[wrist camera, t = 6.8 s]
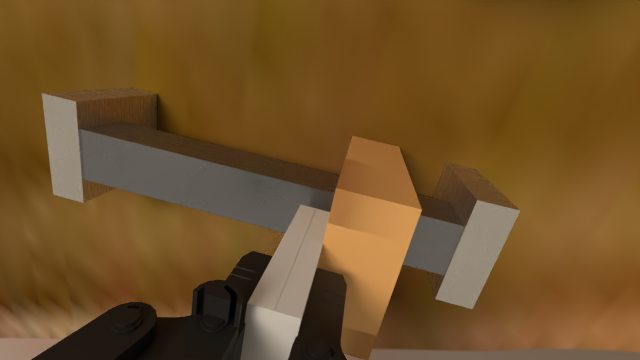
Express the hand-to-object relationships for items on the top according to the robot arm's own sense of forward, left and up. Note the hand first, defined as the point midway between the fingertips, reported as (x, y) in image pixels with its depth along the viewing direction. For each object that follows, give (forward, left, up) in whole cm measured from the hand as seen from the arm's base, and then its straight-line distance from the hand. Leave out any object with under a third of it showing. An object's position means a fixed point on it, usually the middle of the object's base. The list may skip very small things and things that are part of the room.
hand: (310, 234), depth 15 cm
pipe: (-3, 0, -8) cm, 9 cm away
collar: (+2, 0, -7) cm, 7 cm away
